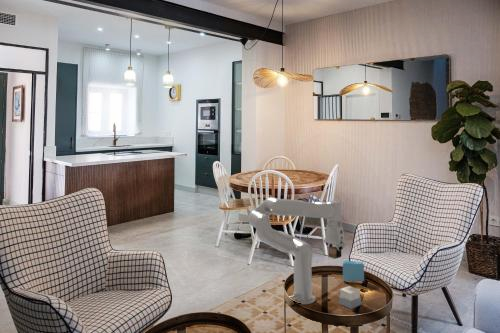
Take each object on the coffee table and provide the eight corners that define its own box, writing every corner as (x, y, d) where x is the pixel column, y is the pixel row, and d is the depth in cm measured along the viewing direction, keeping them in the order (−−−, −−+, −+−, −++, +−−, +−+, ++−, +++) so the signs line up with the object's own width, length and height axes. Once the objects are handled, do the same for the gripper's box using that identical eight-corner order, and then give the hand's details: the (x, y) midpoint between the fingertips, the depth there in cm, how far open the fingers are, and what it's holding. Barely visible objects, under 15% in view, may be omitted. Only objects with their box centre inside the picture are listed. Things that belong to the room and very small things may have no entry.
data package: (363, 281, 224) (363, 261, 223) (364, 284, 219) (363, 264, 218) (343, 280, 227) (342, 260, 226) (343, 282, 222) (342, 263, 222)
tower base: (351, 309, 188) (351, 301, 187) (338, 304, 194) (338, 296, 194) (361, 305, 192) (361, 297, 192) (348, 300, 199) (348, 292, 199)
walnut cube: (335, 258, 202) (335, 249, 202) (328, 256, 206) (328, 247, 206) (341, 256, 205) (341, 247, 205) (334, 254, 209) (334, 246, 209)
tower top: (350, 301, 188) (350, 293, 188) (340, 296, 194) (340, 289, 194) (359, 297, 192) (359, 290, 192) (349, 293, 198) (349, 285, 198)
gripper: (351, 224, 200) (351, 258, 201) (326, 220, 213) (327, 251, 215) (342, 227, 195) (342, 261, 197) (317, 222, 209) (318, 254, 210)
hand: (334, 255), depth 206 cm, fingers closed on walnut cube, 4 cm apart
